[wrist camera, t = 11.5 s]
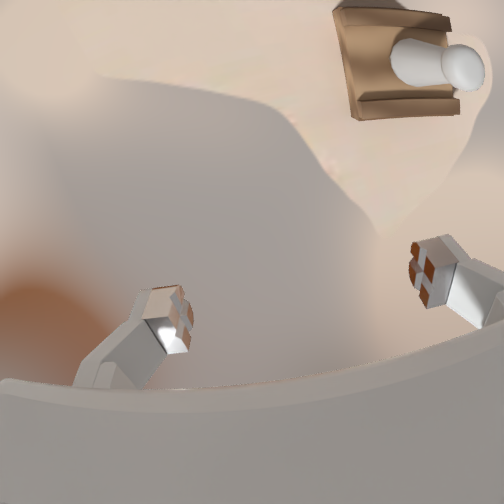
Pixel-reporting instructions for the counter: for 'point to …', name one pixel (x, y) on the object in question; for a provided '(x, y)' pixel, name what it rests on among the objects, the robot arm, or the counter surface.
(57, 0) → the counter surface
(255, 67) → the counter surface
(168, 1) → the counter surface
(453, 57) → the salt shaker
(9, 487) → the robot arm
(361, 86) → the display stand
